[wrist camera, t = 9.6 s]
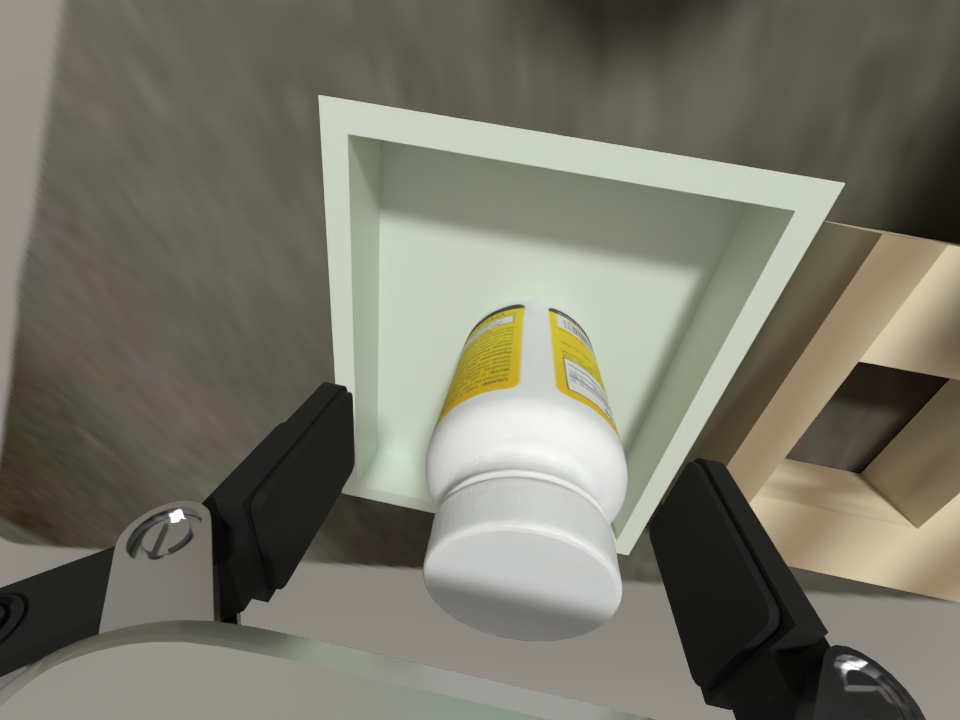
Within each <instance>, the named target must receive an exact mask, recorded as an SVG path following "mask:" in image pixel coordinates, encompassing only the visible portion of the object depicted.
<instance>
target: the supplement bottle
mask: <svg viewBox="0 0 960 720" xmlns="http://www.w3.org/2000/svg"><path fill="white" fill-rule="evenodd" d="M426 478H427V484H428V488H429V492H430V495H431V497H432V499H433V501H434V503H435V505H436V507H437V508H438V511H437V513H436V515H435V517H434V520H433V525H432V531H431V535H430V539H429V543H428V547H427V551H426V556H425V560H424V565H423V574H424V582H425V585H426V588H427V590H428V592H429V594H430V595H431V597H432V598H433V599H434V601H435V602H436V603H437V604H438V605H439V606H440V607H441V608H442V609H443V610H444V611H445V612H447V613H448V614H450V615H451V616H453V617H454V618H456V619H457V620H459V621H461V622H463V623H465V624H467V625H469V626H471V627H473V628H475V629H477V630H480V631H483V632H486V633H489V634H492V635H496V636H500V637H504V638H510V639H516V640H524V641H554V640H562V639H568V638H573V637H576V636H579V635H583V634H586V633H588V632H591V631H593V630H595V629H596V628H598V627H600V626H601V625H603V624H604V623H605V622H607V621H608V620H609V619H610V618H611V617H612V615H613V614H614V613H615V611H616V609H617V608H618V606H619V604H620V601H621V596H622V582H621V576H620V571H619V566H618V560H617V554H616V548H615V543H614V538H613V534H612V531H611V527H610V524H611V523H612V522H613V520H614V519H615V518H616V516H617V514H618V513H619V511H620V509H621V507H622V504H623V502H624V499H625V495H626V491H627V482H628V471H627V464H626V460H625V455H624V451H623V447H622V444H621V440H620V437H619V434H618V431H617V428H616V424H615V421H614V418H613V415H612V411H611V408H610V404H609V401H608V398H607V394H606V391H605V388H604V384H603V381H602V378H601V375H600V371H599V368H598V365H597V361H596V358H595V355H594V351H593V348H592V345H591V343H590V340H589V338H588V336H587V334H586V332H585V330H584V329H583V327H582V326H581V325H580V324H579V323H578V321H577V320H576V319H575V318H574V317H572V316H571V315H570V314H569V313H567V312H566V311H564V310H563V309H561V308H559V307H557V306H554V305H552V304H548V303H545V302H540V301H531V300H528V301H515V302H511V303H507V304H504V305H501V306H499V307H497V308H495V309H493V310H491V311H490V312H488V313H487V314H485V315H484V316H483V317H482V318H481V319H480V320H479V321H478V322H477V323H476V325H475V326H474V327H473V329H472V330H471V332H470V334H469V336H468V338H467V340H466V342H465V345H464V348H463V351H462V353H461V356H460V360H459V363H458V366H457V369H456V372H455V374H454V377H453V380H452V382H451V385H450V388H449V391H448V393H447V396H446V398H445V401H444V404H443V407H442V411H441V413H440V415H439V418H438V421H437V423H436V426H435V428H434V431H433V434H432V437H431V440H430V444H429V448H428V452H427V456H426Z"/></svg>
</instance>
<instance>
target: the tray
mask: <svg viewBox="0 0 960 720" xmlns="http://www.w3.org/2000/svg"><path fill="white" fill-rule="evenodd" d="M319 112H320V129H321V146H322V163H323V180H324V197H325V214H326V231H327V248H328V265H329V282H330V299H331V316H332V333H333V349H334V366H335V383H336V384H338V385H343V386H346V388H347V391H348V392H351V393H352V395H353V418H354V450H355V464H354V468H353V471H352V473H351V475H350V477H349V479H348V480H347V482H346V484H345V485H344V487H343V489H342V493H343V494H348V495H353V496H357V497H362V498H366V499H371V500H376V501H380V502H385V503H389V504H394V505H399V506H403V507H408V508H412V509H417V510H422V511H426V512H431V513H437V511H438V508H437V507H436V505H435V503H434V501H433V499H432V497H431V495H430V492H429V488H428V484H427V478H426V456H427V452H428V448H429V444H430V440H431V437H432V434H433V431H434V428H435V426H436V423H437V421H438V418H439V415H440V413H441V411H442V407H443V404H444V401H445V398H446V396H447V393H448V391H449V388H450V385H451V382H452V380H453V377H454V374H455V372H456V369H457V366H458V363H459V360H460V356H461V353H462V351H463V348H464V345H465V342H466V340H467V338H468V336H469V334H470V332H471V330H472V329H473V327H474V326H475V325H476V323H477V322H478V321H479V320H480V319H481V318H482V317H483V316H484V315H485V314H487V313H488V312H490V311H491V310H493V309H495V308H497V307H499V306H501V305H504V304H507V303H511V302H515V301H528V300H531V301H540V302H545V303H548V304H552V305H554V306H557V307H559V308H561V309H563V310H564V311H566V312H567V313H569V314H570V315H571V316H572V317H574V318H575V319H576V320H577V321H578V323H579V324H580V325H581V326H582V327H583V329H584V330H585V332H586V334H587V336H588V338H589V340H590V343H591V345H592V348H593V351H594V355H595V358H596V361H597V365H598V368H599V371H600V375H601V378H602V381H603V384H604V388H605V391H606V394H607V398H608V401H609V404H610V408H611V411H612V415H613V418H614V421H615V424H616V428H617V431H618V434H619V437H620V440H621V444H622V447H623V451H624V455H625V460H626V464H627V471H628V482H627V491H626V495H625V499H624V502H623V504H622V507H621V509H620V511H619V513H618V514H617V516H616V518H615V519H614V520H613V522H612V523H611V524H610V527H611V531H612V534H613V538H614V543H615V548H616V553H620V554H625V555H629V553H630V551H631V550H632V548H633V546H634V545H635V543H636V541H637V539H638V538H639V536H640V534H641V533H642V531H643V529H644V527H645V526H646V524H647V522H648V521H649V519H650V517H651V515H652V514H653V512H654V510H655V509H656V507H657V505H658V503H659V502H660V500H661V498H662V497H663V495H664V493H665V491H666V490H667V488H668V486H669V485H670V483H671V481H672V479H673V478H674V476H675V474H676V473H677V471H678V469H679V467H680V466H681V464H682V462H683V461H684V459H685V457H686V455H687V454H688V452H689V450H690V449H691V447H692V445H693V443H694V442H695V440H696V438H697V437H698V435H699V433H700V431H701V430H702V428H703V426H704V425H705V423H706V421H707V419H708V418H709V416H710V414H711V413H712V411H713V409H714V408H715V406H716V404H717V402H718V401H719V399H720V397H721V396H722V394H723V392H724V390H725V389H726V387H727V385H728V384H729V382H730V380H731V378H732V377H733V375H734V373H735V372H736V370H737V368H738V366H739V365H740V363H741V361H742V360H743V358H744V356H745V354H746V353H747V351H748V349H749V348H750V346H751V344H752V342H753V341H754V339H755V337H756V336H757V334H758V332H759V330H760V329H761V327H762V325H763V324H764V322H765V320H766V318H767V317H768V315H769V313H770V312H771V310H772V308H773V306H774V305H775V303H776V301H777V300H778V298H779V296H780V294H781V293H782V291H783V289H784V288H785V286H786V284H787V282H788V281H789V279H790V277H791V276H792V274H793V272H794V270H795V269H796V267H797V265H798V264H799V262H800V260H801V258H802V257H803V255H804V253H805V252H806V250H807V248H808V246H809V245H810V243H811V241H812V240H813V238H814V236H815V234H816V233H817V231H818V229H819V228H820V226H821V224H822V222H823V221H824V219H825V217H826V216H827V214H828V212H829V210H830V209H831V207H832V205H833V204H834V202H835V200H836V198H837V197H838V195H839V193H840V192H841V190H842V188H843V186H844V185H845V183H842V182H836V181H830V180H824V179H818V178H812V177H806V176H800V175H794V174H788V173H782V172H776V171H770V170H764V169H758V168H752V167H746V166H740V165H734V164H728V163H722V162H716V161H710V160H704V159H698V158H692V157H686V156H680V155H674V154H668V153H662V152H656V151H650V150H644V149H639V148H633V147H627V146H621V145H615V144H609V143H603V142H597V141H591V140H585V139H579V138H573V137H567V136H561V135H555V134H549V133H543V132H537V131H531V130H525V129H519V128H513V127H507V126H501V125H495V124H489V123H483V122H477V121H471V120H465V119H459V118H453V117H447V116H441V115H435V114H429V113H423V112H417V111H411V110H405V109H399V108H394V107H388V106H382V105H376V104H370V103H364V102H358V101H352V100H346V99H340V98H334V97H328V96H322V95H319Z"/></svg>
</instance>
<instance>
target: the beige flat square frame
mask: <svg viewBox="0 0 960 720" xmlns="http://www.w3.org/2000/svg"><path fill="white" fill-rule="evenodd" d="M859 361H860V362H865V363H870V364H876V365H881V366H886V367H892V368H897V369H902V370H908V371H913V372H918V373H924V374H929V375H934V376H940V377H945V378H950V379H949V380H948V381H947V382H946V383H945V384H944V386H943V387H942V388H941V389H940V390H939V391H938V392H937V393H936V394H935V395H934V396H933V397H932V398H931V399H930V400H929V402H928V403H927V404H926V405H925V406H924V407H923V408H922V409H921V410H920V411H919V412H918V413H917V414H916V415H915V416H914V418H913V419H912V420H911V421H910V422H909V423H908V424H907V425H906V426H905V427H904V428H903V429H902V430H901V431H900V432H899V434H898V435H897V436H896V437H895V438H894V439H893V440H892V441H891V442H890V443H889V444H888V445H887V446H886V447H885V448H884V450H883V451H882V452H881V453H880V454H879V455H878V456H877V457H876V458H875V459H874V460H873V461H872V462H871V463H870V464H869V465H868V467H867V468H866V469H865V470H864V471H863V472H862V473H861V474H859V473H854V472H849V471H845V470H840V469H835V468H830V467H825V466H820V465H815V464H810V463H805V462H800V461H795V460H790V459H785V457H786V455H787V454H788V453H789V451H790V450H791V449H792V448H793V446H794V445H795V444H796V442H797V441H798V440H799V438H800V437H801V436H802V435H803V433H804V432H805V431H806V429H807V428H808V427H809V425H810V424H811V423H812V421H813V420H814V419H815V418H816V416H817V415H818V414H819V412H820V411H821V410H822V408H823V407H824V406H825V405H826V403H827V402H828V401H829V399H830V398H831V397H832V395H833V394H834V393H835V392H836V390H837V389H838V388H839V386H840V385H841V384H842V382H843V381H844V380H845V379H846V377H847V376H848V375H849V373H850V372H851V371H852V369H853V368H854V367H855V366H856V364H857V363H858V362H859ZM697 458H702V459H707V460H712V461H717V462H721V463H723V464H724V465H725V466H726V468H727V469H728V471H729V472H730V474H731V476H732V477H733V479H734V480H735V482H736V484H737V485H738V487H739V489H740V490H741V492H742V493H743V495H744V497H745V498H746V500H747V502H748V503H749V505H750V506H751V508H752V510H753V511H754V513H755V514H756V516H757V518H758V519H759V521H760V523H761V524H762V526H763V527H764V529H765V531H766V532H767V534H768V536H769V537H770V539H771V540H772V542H773V544H774V545H775V547H776V548H777V550H778V552H779V553H780V555H781V557H782V558H783V560H784V561H785V563H786V565H787V566H792V567H796V568H801V569H806V570H810V571H815V572H820V573H824V574H829V575H834V576H838V577H843V578H848V579H852V580H857V581H862V582H866V583H871V584H876V585H880V586H885V587H890V588H894V589H899V590H904V591H908V592H913V593H918V594H922V595H927V596H932V597H936V598H941V599H946V600H950V601H955V602H960V244H957V243H951V242H945V241H939V240H934V239H928V238H922V237H916V236H910V235H905V234H899V233H893V232H887V231H881V230H876V229H870V228H864V227H858V226H852V225H846V224H841V223H835V222H829V221H823V222H822V224H821V226H820V228H819V229H818V231H817V233H816V234H815V236H814V238H813V240H812V241H811V243H810V245H809V246H808V248H807V250H806V252H805V253H804V255H803V257H802V258H801V260H800V262H799V264H798V265H797V267H796V269H795V270H794V272H793V274H792V276H791V277H790V279H789V281H788V282H787V284H786V286H785V288H784V289H783V291H782V293H781V294H780V296H779V298H778V300H777V301H776V303H775V305H774V306H773V308H772V310H771V312H770V313H769V315H768V317H767V318H766V320H765V322H764V324H763V325H762V327H761V329H760V330H759V332H758V334H757V336H756V337H755V339H754V341H753V342H752V344H751V346H750V348H749V349H748V351H747V353H746V354H745V356H744V358H743V360H742V361H741V363H740V365H739V366H738V368H737V370H736V372H735V373H734V375H733V377H732V378H731V380H730V382H729V384H728V385H727V387H726V389H725V390H724V392H723V394H722V396H721V397H720V399H719V401H718V402H717V404H716V406H715V408H714V409H713V411H712V413H711V414H710V416H709V418H708V419H707V421H706V423H705V425H704V426H703V428H702V430H701V431H700V433H699V435H698V437H697V438H696V440H695V442H694V443H693V445H692V447H691V449H690V450H689V452H688V454H687V455H686V457H685V459H684V461H683V462H682V464H681V466H680V467H679V469H678V471H677V473H676V474H675V476H674V478H673V479H672V481H671V483H670V485H669V486H668V488H667V490H666V491H665V493H664V495H663V497H662V498H661V502H662V505H663V503H664V501H665V500H666V498H667V496H668V495H669V493H670V491H671V490H672V488H673V486H674V485H675V483H676V481H677V480H678V478H679V476H680V474H681V473H682V471H683V469H684V468H685V466H686V465H687V463H689V462H693V461H694V460H695V459H697Z"/></svg>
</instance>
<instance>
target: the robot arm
mask: <svg viewBox="0 0 960 720" xmlns="http://www.w3.org/2000/svg"><path fill="white" fill-rule="evenodd" d="M354 464H355V450H354V418H353V395H352V393H351V392H348V391H347V388H346V386H343V385H338V384H333V383H328V382H324V383H323V384H321V385H320V387H319V388H318V389H317V390H316V391H315V392H314V393H313V394H312V395H311V396H310V397H309V398H308V399H307V400H306V401H305V402H304V403H303V404H302V405H301V406H300V408H299V409H298V410H297V411H296V412H295V413H294V414H293V415H292V416H291V417H290V418H289V419H288V420H287V421H286V422H284V423H281V424H279V425H278V426H277V427H276V428H275V429H274V430H273V431H272V432H271V433H270V434H269V435H268V436H267V437H266V438H265V439H264V440H263V441H262V442H261V443H260V444H259V445H258V446H257V447H256V448H255V449H254V450H253V451H252V452H251V453H250V454H249V455H248V456H247V457H246V458H245V460H244V461H243V462H242V463H241V464H240V465H239V466H238V467H237V468H236V469H235V470H234V471H233V472H232V473H231V474H230V475H229V476H228V477H227V478H226V479H225V480H224V481H223V482H222V483H221V484H220V485H219V486H218V487H217V488H216V489H215V490H214V491H213V492H212V494H211V495H210V496H209V497H208V498H207V499H206V500H205V501H204V502H203V503H202V504H200V503H197V502H194V501H180V502H175V503H169V504H166V505H163V506H161V507H158V508H155V509H153V510H151V511H150V512H148V513H146V514H144V515H142V516H141V517H139V518H138V519H137V520H136V521H134V522H133V523H132V524H131V525H129V526H128V527H127V529H126V530H125V531H124V532H123V533H122V535H121V536H120V537H119V539H118V542H117V544H116V546H114V547H112V548H109V549H106V550H103V551H101V552H98V553H95V554H92V555H90V556H87V557H84V558H82V559H79V560H76V561H73V562H70V563H68V564H65V565H62V566H59V567H57V568H54V569H52V570H48V571H46V572H43V573H40V574H37V575H35V576H32V577H29V578H26V579H24V580H21V581H18V582H15V583H13V584H10V585H7V586H5V587H2V588H0V720H655V719H651V718H647V717H643V716H638V715H634V714H630V713H626V712H622V711H618V710H613V709H609V708H605V707H601V706H597V705H593V704H589V703H585V702H580V701H576V700H572V699H568V698H563V697H559V696H555V695H551V694H547V693H542V692H538V691H534V690H530V689H525V688H521V687H517V686H513V685H508V684H504V683H500V682H496V681H492V680H487V679H483V678H479V677H475V676H470V675H466V674H462V673H457V672H453V671H448V670H445V669H440V668H436V667H432V666H427V665H423V664H418V663H414V662H410V661H405V660H401V659H397V658H392V657H388V656H384V655H379V654H375V653H371V652H366V651H362V650H358V649H354V648H349V647H345V646H341V645H336V644H332V643H328V642H323V641H318V640H313V639H308V638H304V637H298V636H294V635H289V634H285V633H280V632H275V631H270V630H265V629H261V628H256V627H249V626H243V625H241V615H240V612H242V611H244V610H245V608H246V607H247V605H248V604H249V602H250V601H251V599H256V600H260V601H265V602H269V600H270V599H271V597H272V595H273V594H274V592H275V590H276V589H282V588H284V587H285V585H286V584H287V582H288V581H289V579H290V577H291V576H292V574H293V572H294V571H295V569H296V567H297V566H298V564H299V562H300V560H301V559H302V557H303V555H304V554H305V552H306V550H307V549H308V547H309V545H310V543H311V542H312V540H313V538H314V537H315V535H316V533H317V531H318V530H319V528H320V526H321V525H322V523H323V521H324V520H325V518H326V516H327V514H328V513H329V511H330V509H331V508H332V506H333V504H334V503H335V501H336V499H337V497H338V496H339V494H340V492H341V491H342V489H343V487H344V485H345V484H346V482H347V480H348V479H349V477H350V475H351V473H352V471H353V468H354ZM649 533H650V540H651V543H652V546H653V550H654V553H655V556H656V559H657V563H658V566H659V569H660V573H661V576H662V579H663V583H664V586H665V589H666V592H667V596H668V599H669V603H670V606H671V609H672V612H673V615H674V619H675V623H676V626H677V629H678V633H679V636H680V639H681V643H682V646H683V649H684V652H685V656H686V659H687V662H688V666H689V669H690V672H691V675H692V678H693V680H694V682H695V683H696V684H697V685H698V686H700V687H701V690H702V694H703V697H704V700H705V703H706V704H707V705H711V706H716V707H720V708H724V709H728V710H731V709H732V710H733V712H734V715H735V718H736V720H926V719H925V717H924V715H923V713H922V712H921V710H920V708H919V706H918V705H917V703H916V702H915V701H914V699H913V698H912V697H911V695H910V694H909V693H908V692H907V690H906V689H905V688H904V687H903V686H902V685H901V684H900V683H899V682H898V681H897V680H896V679H895V678H894V677H893V676H892V675H891V674H890V673H889V672H888V671H886V670H885V669H884V668H883V667H882V666H880V665H879V664H878V663H877V662H876V661H874V660H872V659H871V658H869V657H867V656H866V655H864V654H862V653H861V652H859V651H857V650H854V649H852V648H849V647H847V646H839V645H835V646H832V647H830V645H829V643H828V642H827V640H826V639H825V637H824V636H825V635H826V634H827V633H828V631H827V629H826V628H825V626H824V625H823V623H822V622H821V620H820V618H819V617H818V615H817V613H816V612H815V610H814V608H813V607H812V605H811V604H810V602H809V600H808V599H807V597H806V595H805V594H804V592H803V591H802V589H801V587H800V586H799V584H798V582H797V581H796V579H795V578H794V576H793V574H792V573H791V571H790V570H789V568H788V566H787V565H786V563H785V561H784V560H783V558H782V557H781V555H780V553H779V552H778V550H777V548H776V547H775V545H774V544H773V542H772V540H771V539H770V537H769V536H768V534H767V532H766V531H765V529H764V527H763V526H762V524H761V523H760V521H759V519H758V518H757V516H756V514H755V513H754V511H753V510H752V508H751V506H750V505H749V503H748V502H747V500H746V498H745V497H744V495H743V493H742V492H741V490H740V489H739V487H738V485H737V484H736V482H735V480H734V479H733V477H732V476H731V474H730V472H729V471H728V469H727V468H726V466H725V465H724V464H723V463H721V462H717V461H712V460H707V459H702V458H697V459H695V460H694V461H693V462H689V463H687V465H686V466H685V468H684V469H683V471H682V473H681V474H680V476H679V478H678V480H677V481H676V483H675V485H674V486H673V488H672V490H671V491H670V493H669V495H668V496H667V498H666V500H665V501H664V503H663V505H662V506H661V508H660V510H659V512H658V513H657V515H656V517H655V518H654V520H653V522H652V523H651V526H650V532H649Z"/></svg>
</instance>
